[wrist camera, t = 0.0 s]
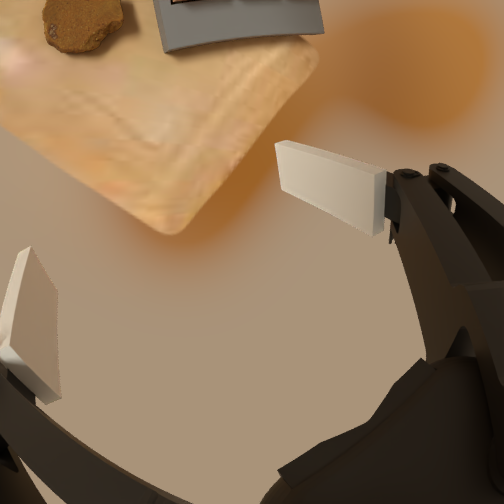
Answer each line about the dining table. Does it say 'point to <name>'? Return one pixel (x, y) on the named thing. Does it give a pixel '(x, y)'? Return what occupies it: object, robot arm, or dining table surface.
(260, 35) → the button board
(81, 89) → the dining table surface
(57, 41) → the artifact
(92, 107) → the dining table surface
